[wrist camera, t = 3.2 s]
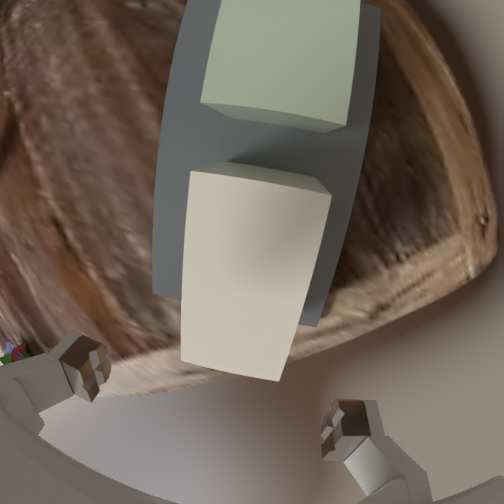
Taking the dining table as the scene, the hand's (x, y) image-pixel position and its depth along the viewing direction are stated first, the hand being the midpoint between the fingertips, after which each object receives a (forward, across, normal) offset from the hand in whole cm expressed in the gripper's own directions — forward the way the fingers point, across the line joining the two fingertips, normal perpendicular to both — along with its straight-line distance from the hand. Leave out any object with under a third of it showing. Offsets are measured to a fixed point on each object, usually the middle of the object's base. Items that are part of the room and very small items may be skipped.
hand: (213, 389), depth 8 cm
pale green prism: (+12, 0, -15) cm, 19 cm away
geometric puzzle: (+14, +36, +26) cm, 47 cm away
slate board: (+13, +1, -8) cm, 15 cm away
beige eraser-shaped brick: (+12, 0, -1) cm, 12 cm away
